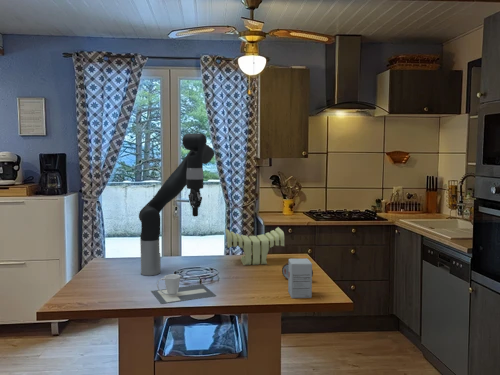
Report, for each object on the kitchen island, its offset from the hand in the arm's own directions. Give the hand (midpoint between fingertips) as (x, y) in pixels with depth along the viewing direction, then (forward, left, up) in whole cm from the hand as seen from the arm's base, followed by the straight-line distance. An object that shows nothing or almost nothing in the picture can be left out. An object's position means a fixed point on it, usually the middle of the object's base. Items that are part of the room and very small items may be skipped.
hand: (195, 216), depth 210 cm
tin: (-25, +41, -32) cm, 58 cm away
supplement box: (-5, +48, -32) cm, 58 cm away
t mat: (+13, +1, -32) cm, 35 cm away
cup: (+17, -4, -32) cm, 36 cm away
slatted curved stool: (-48, +10, -32) cm, 59 cm away
